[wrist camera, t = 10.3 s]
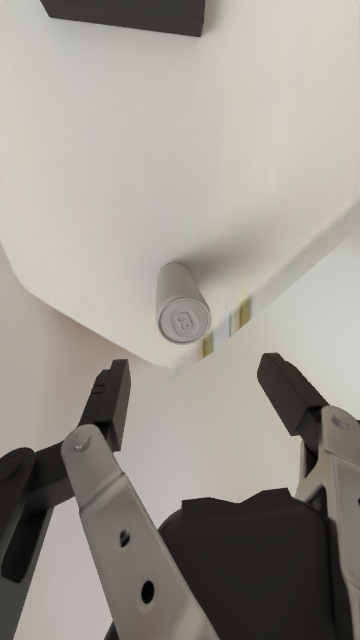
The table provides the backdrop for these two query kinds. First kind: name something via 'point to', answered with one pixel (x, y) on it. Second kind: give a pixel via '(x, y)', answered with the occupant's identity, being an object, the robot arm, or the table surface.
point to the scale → (134, 13)
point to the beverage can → (180, 306)
